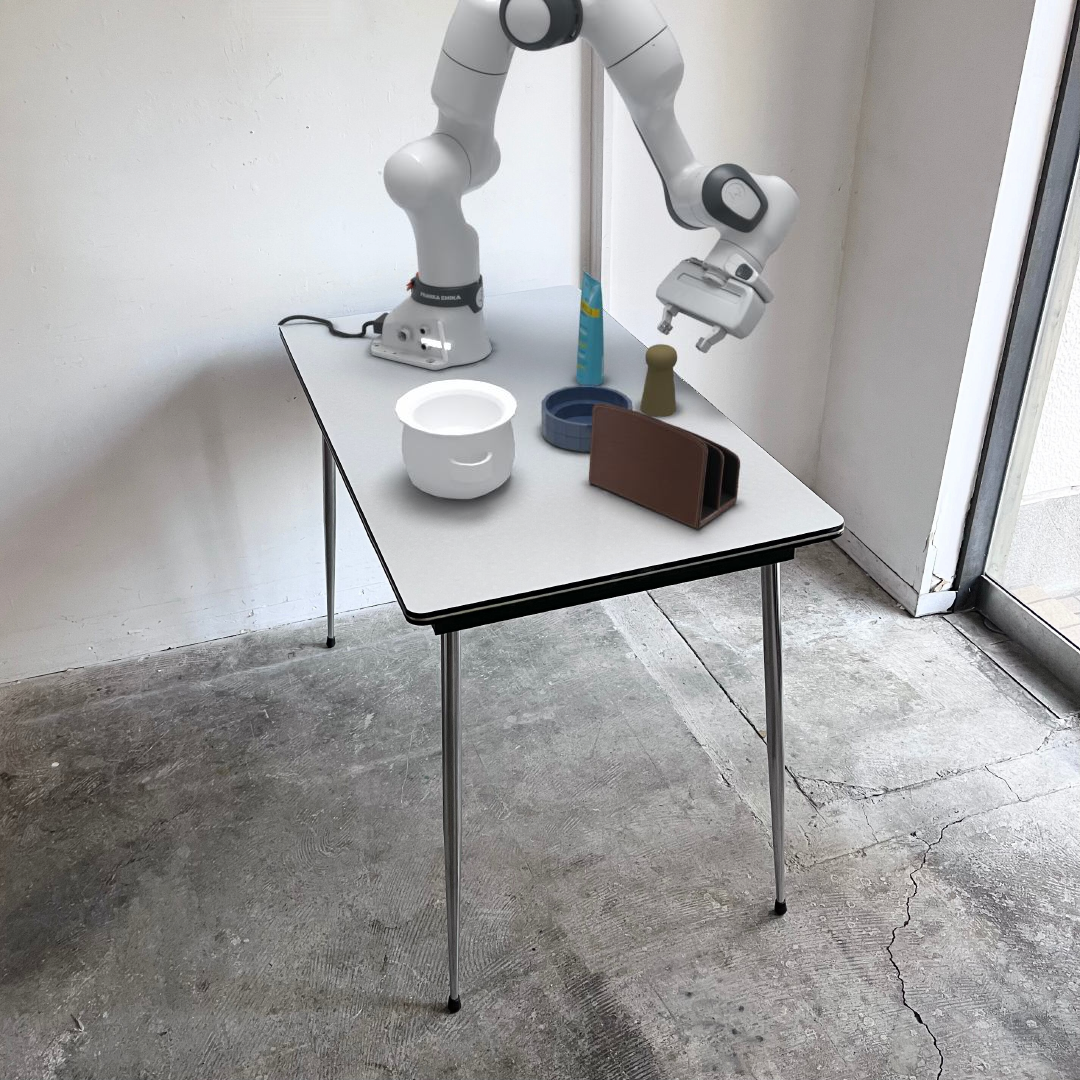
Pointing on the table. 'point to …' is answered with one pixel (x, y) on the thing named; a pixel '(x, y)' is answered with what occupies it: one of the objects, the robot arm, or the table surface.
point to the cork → (659, 381)
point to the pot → (457, 437)
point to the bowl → (576, 414)
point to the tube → (590, 333)
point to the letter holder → (661, 465)
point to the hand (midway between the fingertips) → (680, 341)
